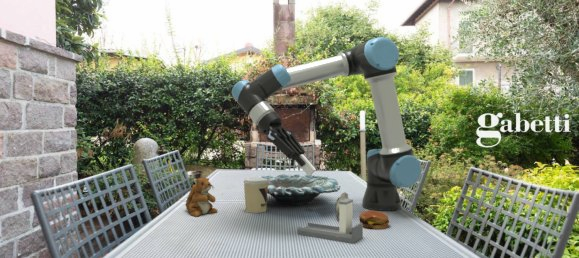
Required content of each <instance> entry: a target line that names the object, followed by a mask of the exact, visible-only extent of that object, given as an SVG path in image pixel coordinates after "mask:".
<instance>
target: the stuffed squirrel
mask: <svg viewBox="0 0 579 258" xmlns="http://www.w3.org/2000/svg"><path fill="white" fill-rule="evenodd" d="M209 180H210V178H209V177H198V178H193V183H195V184H193V185H192V186H191V188H190V191H189V193H188V196H187V197H186V200H185V201H186V202H185V209H186V210H187V212H189V215H191V216H193V217H199V216H201V215H205V214H216V213H218V209H217V208H215V207H213V204H212V203H215V202H216V197H215V195H212V194H211V193H209V191H210V190H211V189H214V185H213V184H212V183H211V182H210V181H209Z"/></svg>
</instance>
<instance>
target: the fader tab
mask: <svg viewBox="0 0 579 258" xmlns="http://www.w3.org/2000/svg"><path fill="white" fill-rule="evenodd" d="M353 203H354V199H353V198H349V199H344V200H341V201H339V219H338V221H339V225H338V227H339V233H343V234H350V233H351V232H352V227H353V209H354V208H353V206H354V205H353Z"/></svg>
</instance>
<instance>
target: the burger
mask: <svg viewBox="0 0 579 258" xmlns="http://www.w3.org/2000/svg"><path fill="white" fill-rule="evenodd" d="M358 218H359V223H363V227H364V228H366V229H372V230H385V229H386V228H388V226H389V224H390V220H389V216H388V215H387V214H386V213H384V212H381V211H380V210H366V211H365V210H364V211H363V212H361V213H360V214H359V216H358Z"/></svg>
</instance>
